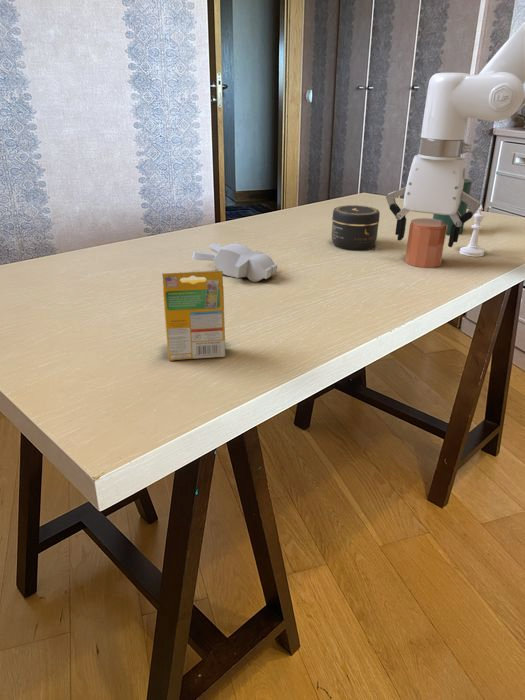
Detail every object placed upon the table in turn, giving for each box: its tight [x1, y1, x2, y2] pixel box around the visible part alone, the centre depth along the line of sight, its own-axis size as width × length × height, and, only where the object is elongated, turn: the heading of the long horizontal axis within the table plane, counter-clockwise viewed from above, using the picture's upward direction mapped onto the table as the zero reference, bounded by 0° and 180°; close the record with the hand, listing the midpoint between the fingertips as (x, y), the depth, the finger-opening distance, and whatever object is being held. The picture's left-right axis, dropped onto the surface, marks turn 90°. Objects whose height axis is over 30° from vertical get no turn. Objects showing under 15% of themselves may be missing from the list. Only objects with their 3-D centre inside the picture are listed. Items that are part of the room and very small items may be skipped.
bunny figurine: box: [191, 242, 279, 283], centre depth 97 cm, size 10×5×15 cm
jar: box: [331, 204, 381, 251], centre depth 114 cm, size 10×10×8 cm
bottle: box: [432, 161, 473, 236], centre depth 124 cm, size 7×7×16 cm
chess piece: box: [458, 204, 485, 258], centre depth 109 cm, size 5×5×10 cm
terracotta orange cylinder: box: [404, 217, 448, 269], centre depth 104 cm, size 7×7×8 cm
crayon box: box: [161, 270, 226, 362], centre depth 66 cm, size 7×3×12 cm, turn 99°
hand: (425, 242), depth 104 cm, fingers open, 9 cm apart
